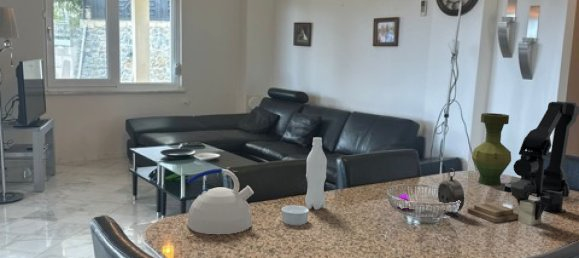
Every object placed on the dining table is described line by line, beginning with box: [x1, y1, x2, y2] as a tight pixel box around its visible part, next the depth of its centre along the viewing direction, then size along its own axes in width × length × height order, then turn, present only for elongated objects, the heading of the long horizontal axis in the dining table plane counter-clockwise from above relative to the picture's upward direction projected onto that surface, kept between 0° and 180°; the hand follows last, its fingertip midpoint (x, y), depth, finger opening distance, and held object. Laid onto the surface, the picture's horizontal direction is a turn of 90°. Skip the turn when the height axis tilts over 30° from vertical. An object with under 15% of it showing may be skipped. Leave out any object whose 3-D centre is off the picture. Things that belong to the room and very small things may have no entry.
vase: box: [471, 112, 512, 187], centre depth 233 cm, size 16×16×30 cm
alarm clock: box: [437, 167, 465, 218], centre depth 188 cm, size 11×5×16 cm, turn 14°
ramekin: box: [281, 205, 310, 226], centre depth 175 cm, size 9×9×4 cm
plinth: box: [467, 202, 519, 224], centre depth 188 cm, size 12×12×3 cm
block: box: [517, 198, 542, 226], centre depth 181 cm, size 5×5×7 cm
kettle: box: [186, 168, 255, 236], centre depth 169 cm, size 20×21×18 cm
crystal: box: [397, 192, 411, 201], centre depth 194 cm, size 5×5×5 cm
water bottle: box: [304, 136, 328, 211], centre depth 189 cm, size 7×7×25 cm
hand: (529, 217), depth 182 cm, fingers closed on block, 5 cm apart
